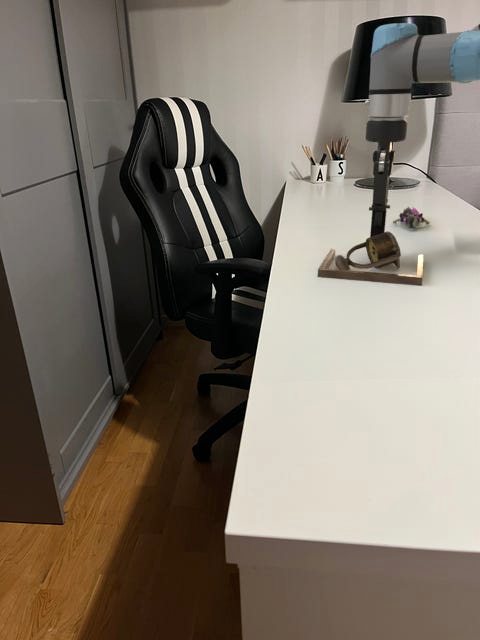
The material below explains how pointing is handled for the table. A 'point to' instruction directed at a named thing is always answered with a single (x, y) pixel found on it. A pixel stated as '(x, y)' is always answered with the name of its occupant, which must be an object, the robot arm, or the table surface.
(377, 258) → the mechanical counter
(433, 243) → the table surface
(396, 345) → the table surface
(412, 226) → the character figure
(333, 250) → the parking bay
